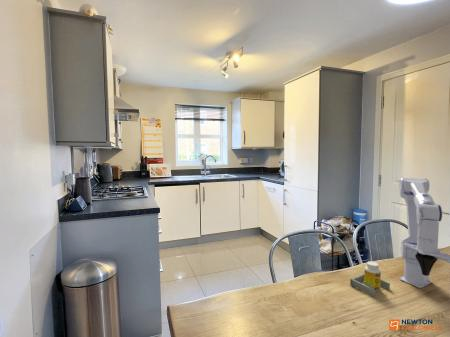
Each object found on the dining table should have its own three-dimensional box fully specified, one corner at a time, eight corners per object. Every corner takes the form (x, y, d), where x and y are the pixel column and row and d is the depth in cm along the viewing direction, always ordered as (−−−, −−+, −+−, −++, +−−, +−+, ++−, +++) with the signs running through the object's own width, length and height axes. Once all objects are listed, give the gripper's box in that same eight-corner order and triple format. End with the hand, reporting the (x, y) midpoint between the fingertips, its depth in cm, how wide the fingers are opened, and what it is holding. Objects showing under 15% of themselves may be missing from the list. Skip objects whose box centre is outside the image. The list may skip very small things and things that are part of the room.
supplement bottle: (376, 293, 96) (376, 268, 95) (361, 287, 101) (362, 262, 100) (382, 289, 99) (383, 264, 99) (368, 283, 104) (368, 259, 103)
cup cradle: (365, 278, 108) (366, 272, 108) (389, 289, 99) (390, 283, 99) (350, 284, 103) (350, 278, 102) (374, 296, 94) (374, 290, 94)
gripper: (399, 233, 93) (397, 269, 94) (448, 246, 80) (446, 287, 81) (409, 230, 96) (407, 264, 97) (457, 242, 84) (455, 281, 85)
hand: (425, 274), depth 90 cm, fingers closed
